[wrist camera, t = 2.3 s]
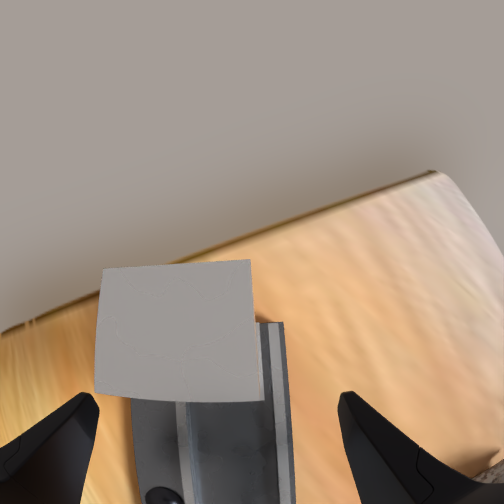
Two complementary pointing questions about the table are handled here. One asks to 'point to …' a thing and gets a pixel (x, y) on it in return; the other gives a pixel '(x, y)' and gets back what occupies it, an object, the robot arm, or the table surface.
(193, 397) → the block
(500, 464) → the caster wheel
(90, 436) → the robot arm
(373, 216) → the table surface
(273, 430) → the rail
